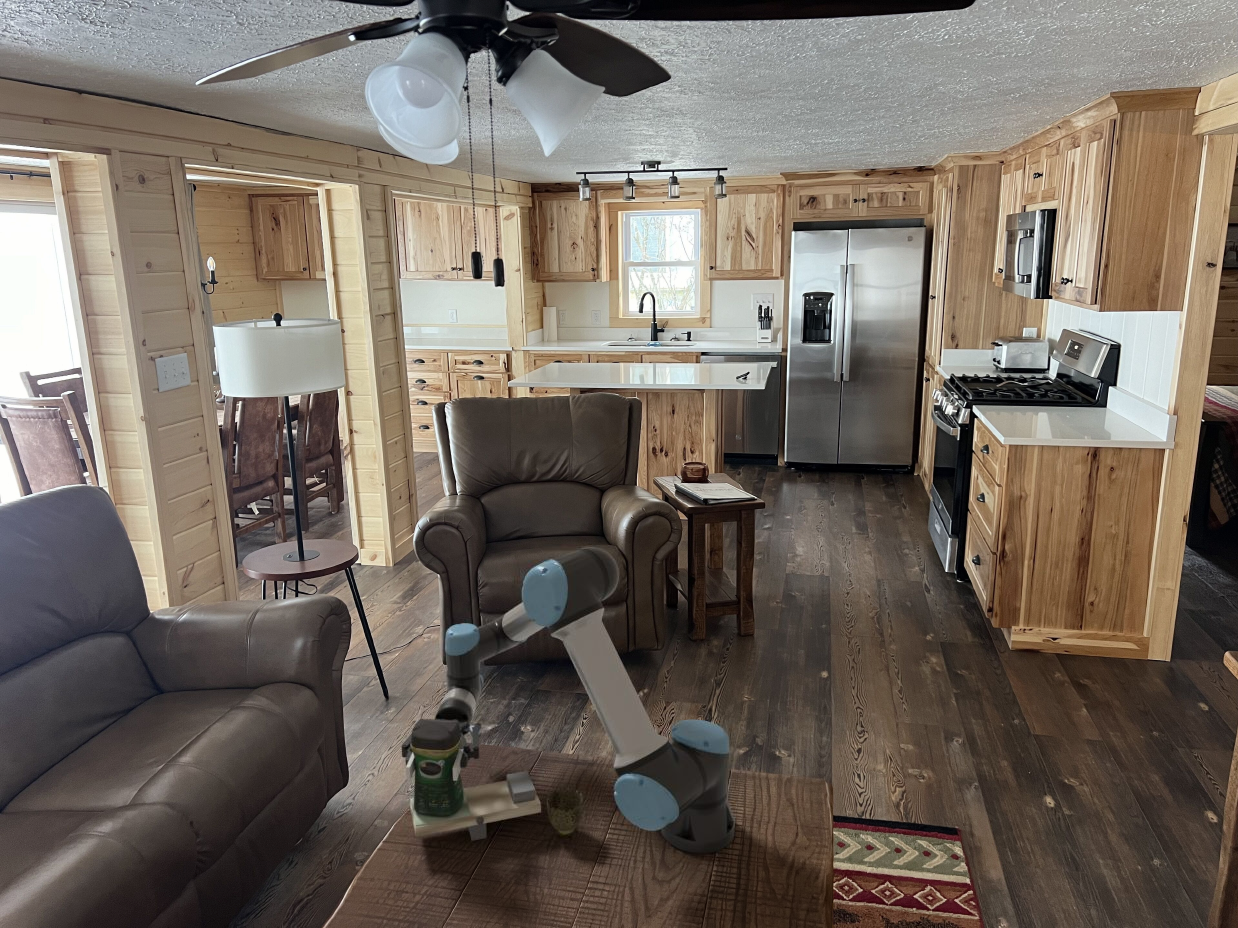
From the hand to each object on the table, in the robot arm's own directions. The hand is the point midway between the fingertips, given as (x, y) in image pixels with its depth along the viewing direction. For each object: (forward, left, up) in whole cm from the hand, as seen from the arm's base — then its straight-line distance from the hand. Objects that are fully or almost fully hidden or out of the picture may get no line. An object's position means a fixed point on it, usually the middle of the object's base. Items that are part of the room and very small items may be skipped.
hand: (431, 773), depth 166 cm
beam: (+4, -9, -12) cm, 15 cm away
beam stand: (+4, -9, -17) cm, 20 cm away
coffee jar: (+4, -2, -11) cm, 12 cm away
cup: (-3, -26, -17) cm, 31 cm away
